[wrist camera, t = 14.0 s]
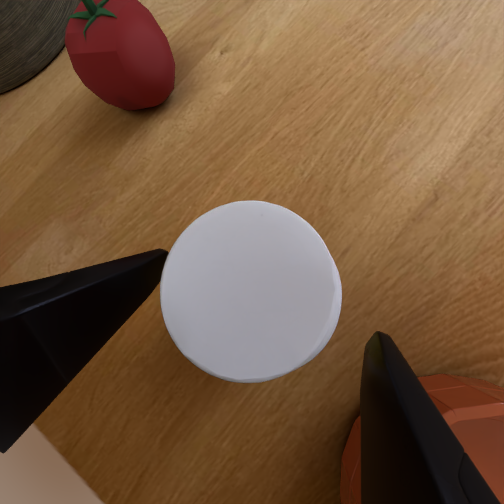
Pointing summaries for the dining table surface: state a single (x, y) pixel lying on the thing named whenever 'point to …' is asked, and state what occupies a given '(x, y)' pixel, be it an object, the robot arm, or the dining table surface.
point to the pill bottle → (250, 292)
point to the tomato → (120, 53)
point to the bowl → (461, 423)
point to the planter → (30, 37)
